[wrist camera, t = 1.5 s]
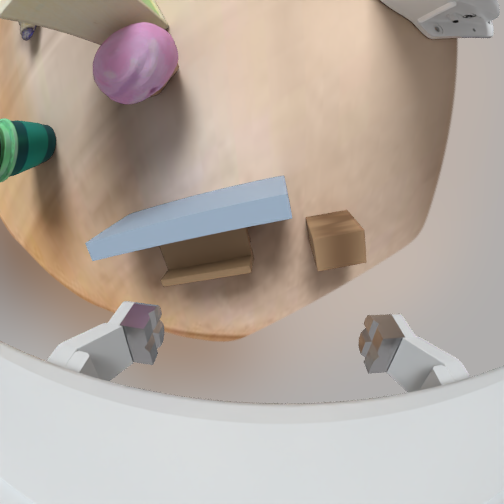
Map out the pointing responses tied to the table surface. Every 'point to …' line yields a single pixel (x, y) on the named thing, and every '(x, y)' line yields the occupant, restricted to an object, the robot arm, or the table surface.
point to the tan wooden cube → (336, 240)
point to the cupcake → (135, 63)
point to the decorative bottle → (26, 30)
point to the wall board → (199, 230)
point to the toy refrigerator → (83, 15)
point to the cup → (24, 146)
